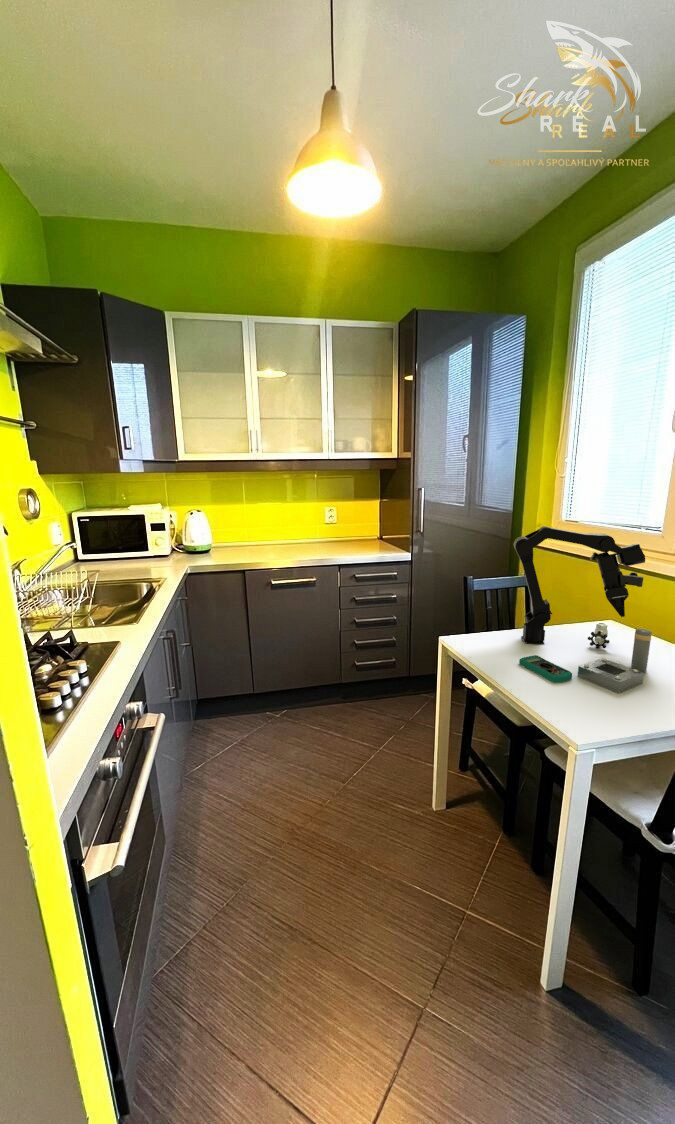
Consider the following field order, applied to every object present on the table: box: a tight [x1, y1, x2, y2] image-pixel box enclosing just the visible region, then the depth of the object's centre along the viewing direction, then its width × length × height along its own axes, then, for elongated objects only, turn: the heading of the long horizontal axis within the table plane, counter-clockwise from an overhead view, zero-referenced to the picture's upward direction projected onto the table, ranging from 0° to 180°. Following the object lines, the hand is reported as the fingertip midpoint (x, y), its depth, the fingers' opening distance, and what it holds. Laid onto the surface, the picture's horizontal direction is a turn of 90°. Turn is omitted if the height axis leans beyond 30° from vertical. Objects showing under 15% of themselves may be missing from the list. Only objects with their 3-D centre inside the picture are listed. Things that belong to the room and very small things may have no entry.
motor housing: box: [577, 657, 645, 694], centre depth 125 cm, size 12×12×4 cm
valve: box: [587, 621, 611, 650], centre depth 153 cm, size 7×7×12 cm
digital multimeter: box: [518, 654, 573, 684], centre depth 132 cm, size 7×15×3 cm, turn 20°
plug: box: [630, 628, 652, 674], centre depth 131 cm, size 4×4×13 cm
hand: (622, 614), depth 143 cm, fingers open, 9 cm apart
